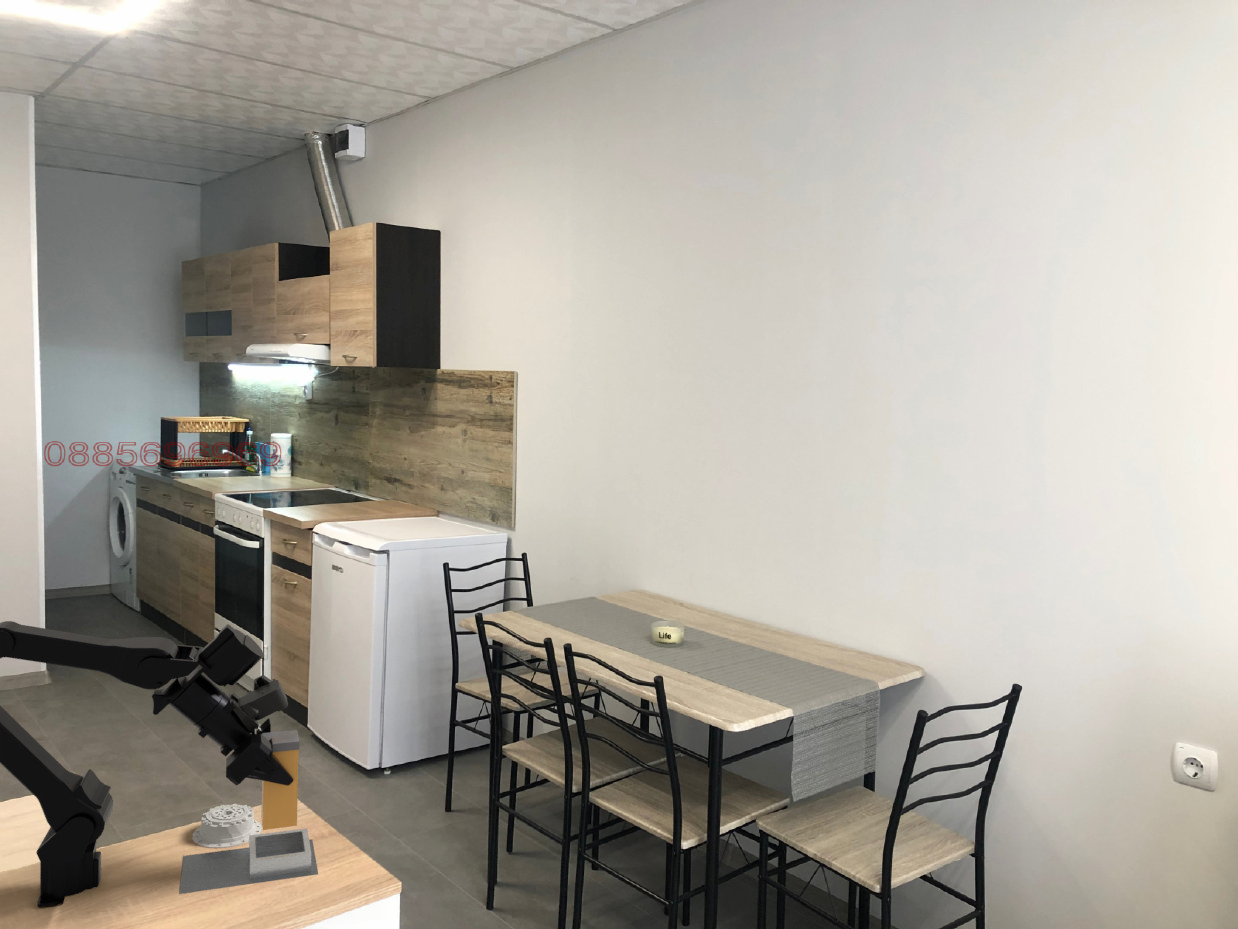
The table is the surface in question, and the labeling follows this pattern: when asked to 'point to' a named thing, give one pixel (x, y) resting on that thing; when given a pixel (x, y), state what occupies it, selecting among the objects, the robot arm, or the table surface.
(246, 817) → the mechanical component
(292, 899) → the table surface
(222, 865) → the grey socket base plate
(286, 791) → the capped orange pillar
